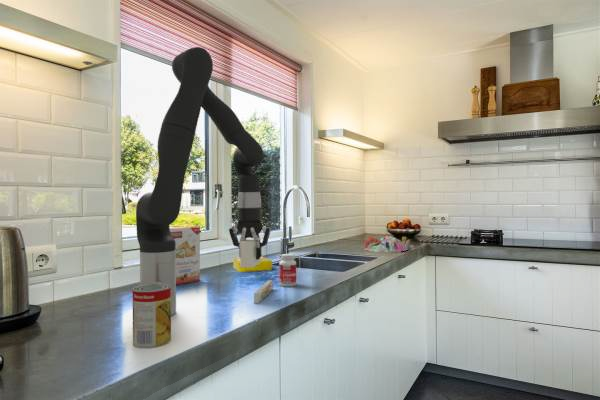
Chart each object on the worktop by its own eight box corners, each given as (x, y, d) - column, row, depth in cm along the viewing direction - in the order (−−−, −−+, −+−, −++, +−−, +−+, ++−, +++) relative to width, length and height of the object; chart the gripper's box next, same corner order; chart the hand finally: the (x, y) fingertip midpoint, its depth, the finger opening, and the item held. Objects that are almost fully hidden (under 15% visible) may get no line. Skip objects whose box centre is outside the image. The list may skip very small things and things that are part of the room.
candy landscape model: (385, 247, 264) (385, 233, 264) (417, 251, 246) (416, 235, 246) (358, 251, 249) (358, 235, 249) (389, 254, 230) (389, 238, 230)
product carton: (260, 262, 139) (260, 238, 139) (253, 267, 129) (253, 241, 129) (248, 262, 139) (247, 238, 139) (240, 267, 130) (239, 241, 129)
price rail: (261, 303, 123) (261, 293, 123) (254, 303, 124) (254, 293, 124) (274, 289, 143) (274, 280, 143) (268, 288, 144) (268, 280, 144)
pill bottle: (281, 287, 146) (281, 256, 146) (277, 284, 152) (277, 253, 152) (298, 286, 148) (298, 255, 148) (293, 282, 154) (293, 253, 154)
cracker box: (169, 286, 149) (168, 228, 149) (159, 284, 153) (159, 227, 153) (201, 280, 160) (200, 226, 160) (191, 278, 163) (191, 225, 163)
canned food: (175, 335, 95) (174, 283, 95) (165, 347, 87) (164, 290, 87) (140, 336, 95) (139, 283, 95) (127, 348, 87) (126, 291, 87)
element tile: (232, 267, 191) (232, 257, 191) (263, 265, 196) (263, 255, 196) (239, 273, 177) (239, 261, 177) (273, 270, 182) (273, 259, 182)
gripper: (273, 205, 137) (274, 257, 137) (231, 206, 139) (232, 257, 139) (268, 206, 129) (269, 261, 130) (224, 207, 131) (225, 261, 131)
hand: (250, 259), depth 134 cm, fingers closed on product carton, 4 cm apart
